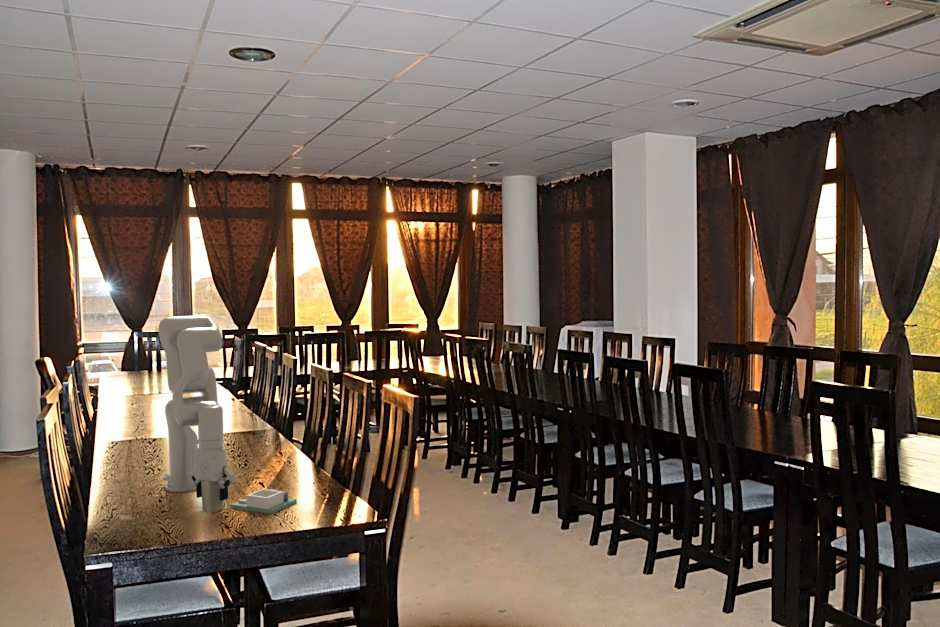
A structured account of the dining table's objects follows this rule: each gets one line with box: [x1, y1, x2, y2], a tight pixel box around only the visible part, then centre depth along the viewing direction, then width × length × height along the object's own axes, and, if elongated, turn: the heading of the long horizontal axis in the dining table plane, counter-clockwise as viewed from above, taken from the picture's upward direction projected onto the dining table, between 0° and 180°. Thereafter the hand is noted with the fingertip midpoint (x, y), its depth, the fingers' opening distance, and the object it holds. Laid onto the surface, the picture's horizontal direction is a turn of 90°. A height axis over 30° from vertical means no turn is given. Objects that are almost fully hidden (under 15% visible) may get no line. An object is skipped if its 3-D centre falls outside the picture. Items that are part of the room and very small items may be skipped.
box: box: [201, 479, 224, 514], centre depth 257 cm, size 5×4×11 cm
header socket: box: [246, 488, 285, 509], centre depth 260 cm, size 8×9×4 cm
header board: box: [230, 491, 297, 515], centre depth 262 cm, size 16×13×4 cm
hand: (212, 498), depth 257 cm, fingers open, 8 cm apart
